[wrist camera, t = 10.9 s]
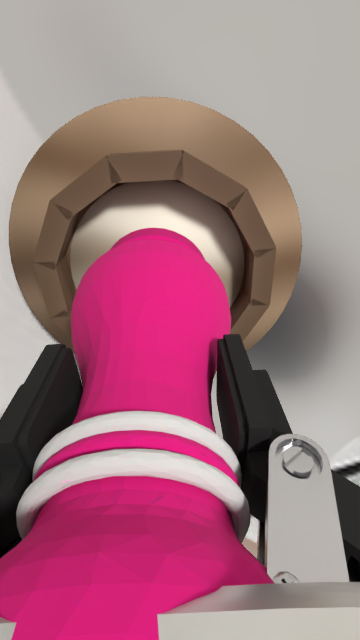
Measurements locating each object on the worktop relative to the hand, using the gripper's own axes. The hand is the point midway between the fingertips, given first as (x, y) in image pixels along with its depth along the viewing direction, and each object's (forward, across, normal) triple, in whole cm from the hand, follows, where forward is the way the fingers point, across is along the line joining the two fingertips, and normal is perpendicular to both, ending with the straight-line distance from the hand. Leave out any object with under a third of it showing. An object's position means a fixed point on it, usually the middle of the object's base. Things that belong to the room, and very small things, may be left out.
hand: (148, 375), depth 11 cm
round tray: (+11, 0, 0) cm, 11 cm away
